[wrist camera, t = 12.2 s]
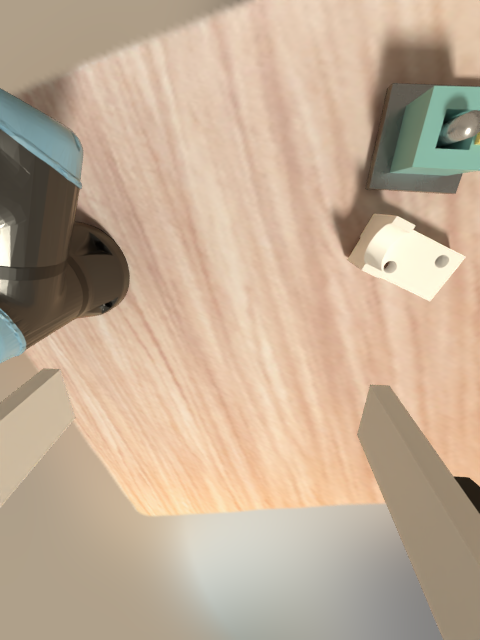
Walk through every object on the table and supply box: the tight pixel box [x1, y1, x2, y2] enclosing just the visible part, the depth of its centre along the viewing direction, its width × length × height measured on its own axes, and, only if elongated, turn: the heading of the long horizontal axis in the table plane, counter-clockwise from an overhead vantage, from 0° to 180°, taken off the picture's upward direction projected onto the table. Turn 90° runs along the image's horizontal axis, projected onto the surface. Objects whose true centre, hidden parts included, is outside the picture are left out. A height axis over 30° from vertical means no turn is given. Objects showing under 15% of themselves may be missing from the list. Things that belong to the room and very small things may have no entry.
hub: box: [390, 86, 480, 176], centre depth 30 cm, size 7×7×7 cm
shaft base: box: [366, 83, 480, 194], centre depth 30 cm, size 11×11×10 cm
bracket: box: [347, 214, 466, 301], centre depth 37 cm, size 13×7×8 cm, turn 66°
